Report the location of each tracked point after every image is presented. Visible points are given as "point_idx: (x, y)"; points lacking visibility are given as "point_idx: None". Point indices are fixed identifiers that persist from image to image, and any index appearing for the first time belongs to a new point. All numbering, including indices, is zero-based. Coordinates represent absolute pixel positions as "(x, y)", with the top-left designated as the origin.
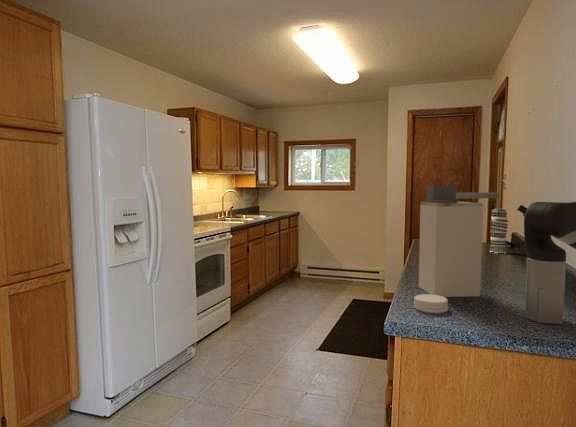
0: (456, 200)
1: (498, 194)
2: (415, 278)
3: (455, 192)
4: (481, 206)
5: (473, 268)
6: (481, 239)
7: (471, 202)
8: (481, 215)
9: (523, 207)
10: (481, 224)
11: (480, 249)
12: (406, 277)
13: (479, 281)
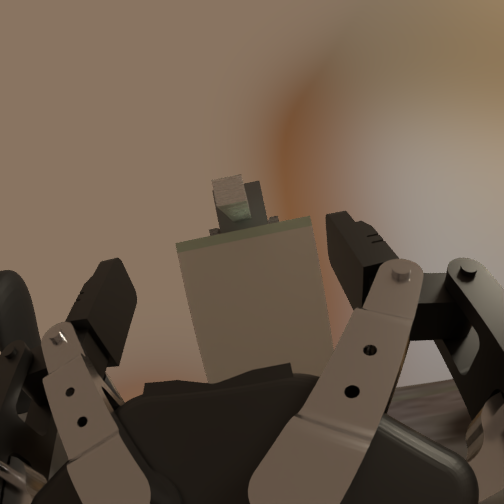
0: (210, 232)
1: (213, 189)
2: (404, 399)
3: (216, 208)
4: (178, 253)
5: None
6: (201, 356)
7: (242, 229)
8: (184, 282)
9: (337, 239)
10: (190, 311)
11: (209, 383)
12: (407, 388)
13: None
